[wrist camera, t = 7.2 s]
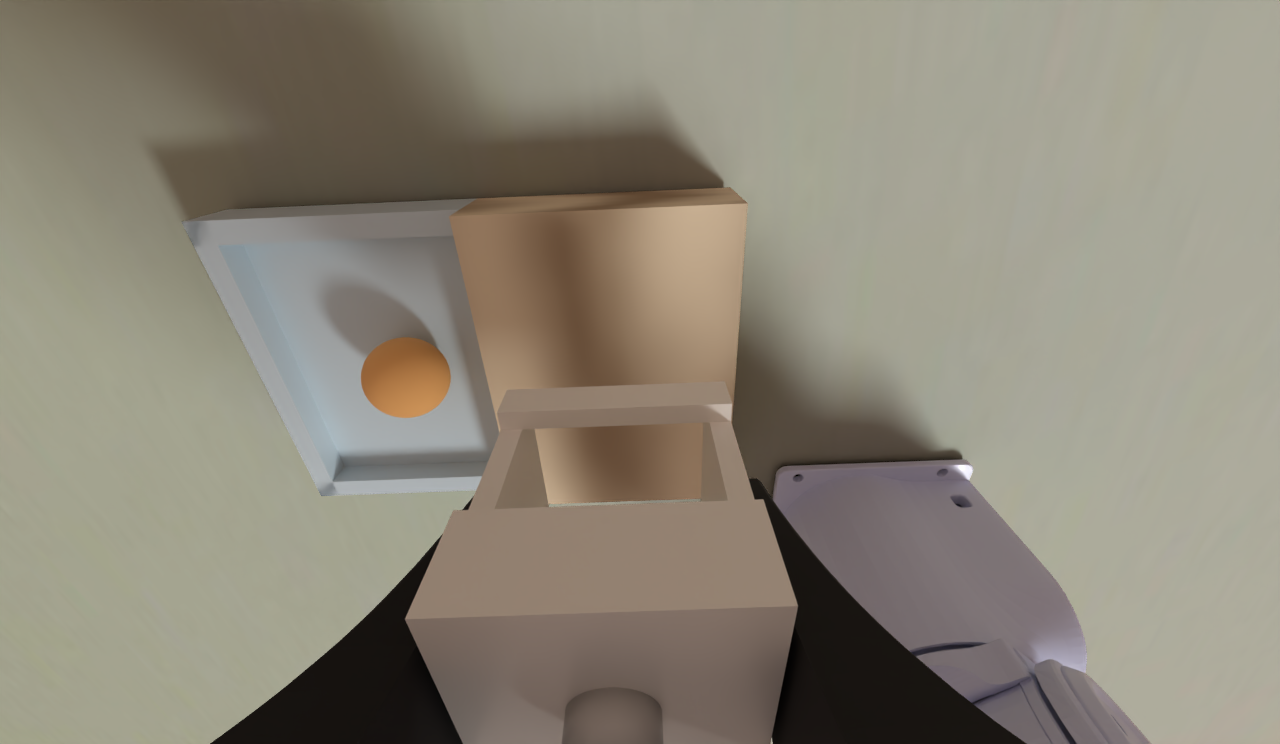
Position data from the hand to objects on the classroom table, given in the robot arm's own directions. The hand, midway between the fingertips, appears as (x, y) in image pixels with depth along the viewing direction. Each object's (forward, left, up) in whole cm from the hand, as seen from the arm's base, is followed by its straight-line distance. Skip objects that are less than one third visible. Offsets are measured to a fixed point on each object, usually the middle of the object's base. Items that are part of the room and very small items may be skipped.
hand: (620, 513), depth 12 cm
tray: (+10, 0, -9) cm, 13 cm away
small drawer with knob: (0, 0, -2) cm, 2 cm away
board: (+1, 0, -9) cm, 9 cm away
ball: (+8, 0, -7) cm, 11 cm away
